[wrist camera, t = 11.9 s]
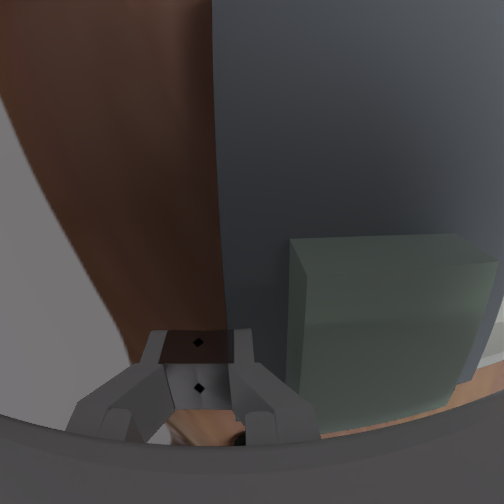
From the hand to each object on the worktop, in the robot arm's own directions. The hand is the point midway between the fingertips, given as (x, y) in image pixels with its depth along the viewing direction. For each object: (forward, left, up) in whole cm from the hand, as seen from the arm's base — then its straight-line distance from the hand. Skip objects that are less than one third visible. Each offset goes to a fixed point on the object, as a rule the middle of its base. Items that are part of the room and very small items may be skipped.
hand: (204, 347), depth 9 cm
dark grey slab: (-4, +7, -6) cm, 10 cm away
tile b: (0, +6, -1) cm, 6 cm away
